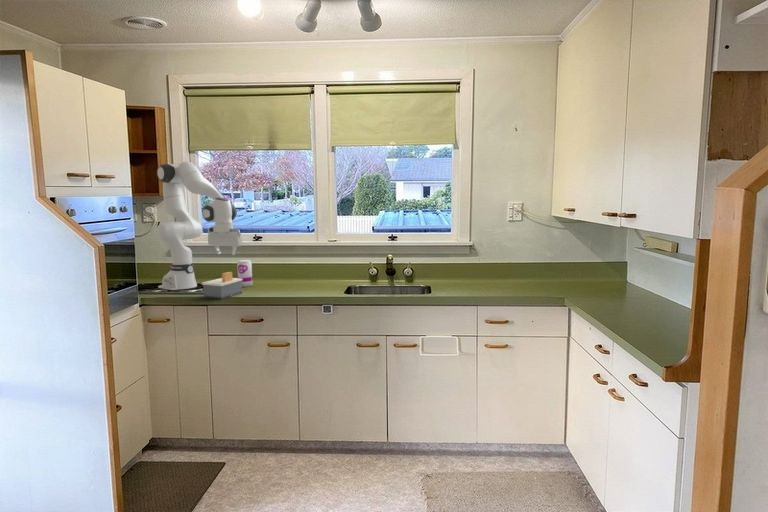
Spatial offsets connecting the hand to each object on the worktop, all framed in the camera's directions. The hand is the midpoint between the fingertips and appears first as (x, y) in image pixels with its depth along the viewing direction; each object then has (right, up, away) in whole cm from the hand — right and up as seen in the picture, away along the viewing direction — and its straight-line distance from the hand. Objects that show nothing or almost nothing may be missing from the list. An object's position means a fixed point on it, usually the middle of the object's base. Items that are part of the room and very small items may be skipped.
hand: (226, 254), depth 264 cm
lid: (-3, -15, +3) cm, 16 cm away
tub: (-3, -22, +4) cm, 23 cm away
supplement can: (+2, -19, +30) cm, 36 cm away
